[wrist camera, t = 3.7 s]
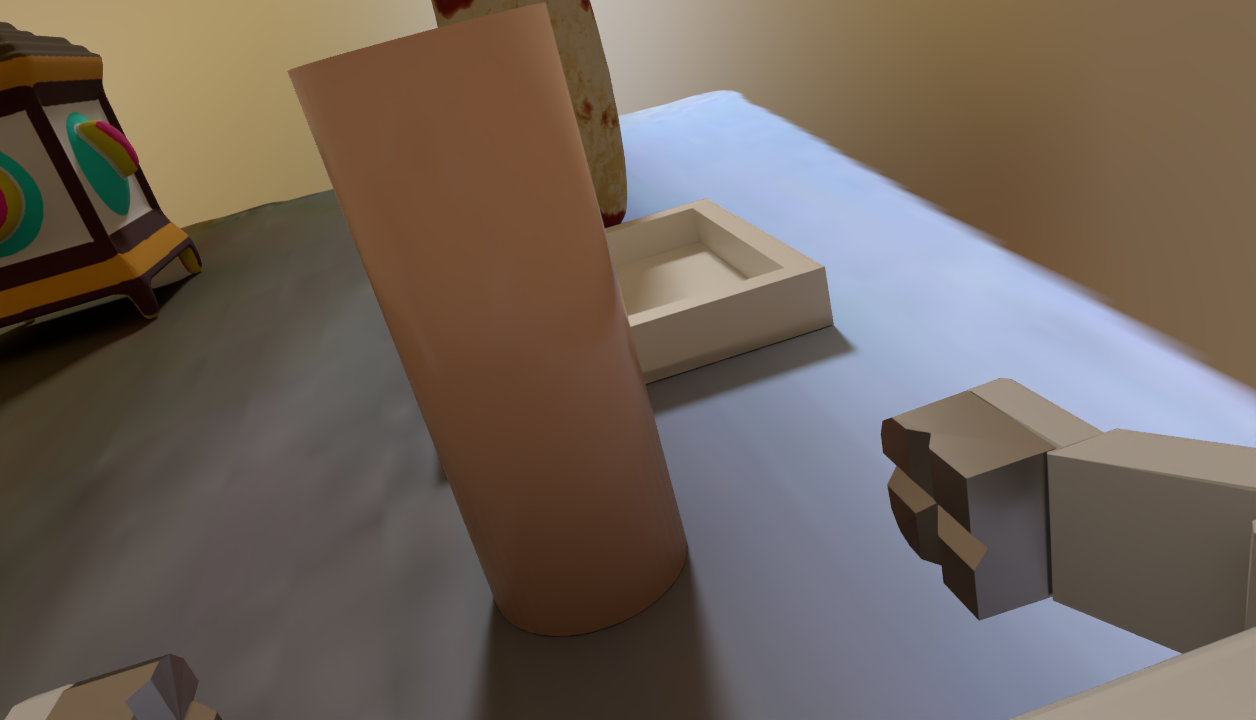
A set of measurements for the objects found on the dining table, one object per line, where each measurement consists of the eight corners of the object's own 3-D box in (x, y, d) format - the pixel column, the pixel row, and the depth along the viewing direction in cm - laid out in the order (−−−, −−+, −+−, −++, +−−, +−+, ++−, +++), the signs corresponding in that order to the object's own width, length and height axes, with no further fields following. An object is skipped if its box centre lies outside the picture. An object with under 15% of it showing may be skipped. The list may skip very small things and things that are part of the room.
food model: (505, 269, 53) (398, -67, 45) (508, 244, 59) (414, -56, 51) (650, 230, 53) (568, -113, 45) (638, 209, 59) (564, -96, 51)
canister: (500, 664, 20) (261, 74, 14) (489, 540, 25) (310, 68, 19) (712, 591, 20) (560, -5, 15) (660, 483, 25) (532, 9, 20)
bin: (449, 446, 31) (427, 389, 30) (449, 320, 46) (434, 279, 45) (833, 324, 33) (824, 266, 32) (714, 239, 48) (706, 198, 47)
